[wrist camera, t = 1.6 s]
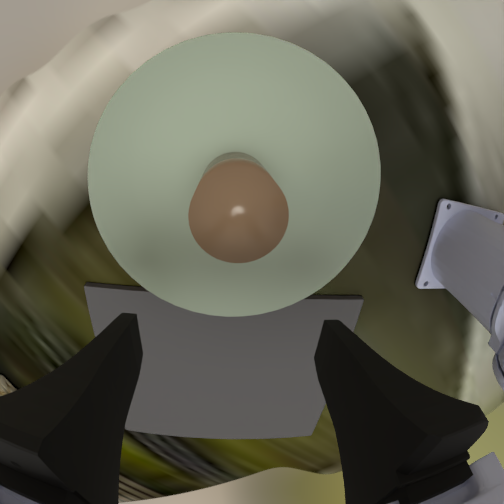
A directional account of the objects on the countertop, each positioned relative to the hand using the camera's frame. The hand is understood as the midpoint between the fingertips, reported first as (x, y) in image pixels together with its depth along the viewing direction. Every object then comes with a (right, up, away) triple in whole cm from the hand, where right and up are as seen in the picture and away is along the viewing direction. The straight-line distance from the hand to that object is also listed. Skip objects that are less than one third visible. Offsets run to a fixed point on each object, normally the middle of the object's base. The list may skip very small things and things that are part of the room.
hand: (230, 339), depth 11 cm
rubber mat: (-2, -9, +15) cm, 18 cm away
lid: (0, +7, +3) cm, 8 cm away
